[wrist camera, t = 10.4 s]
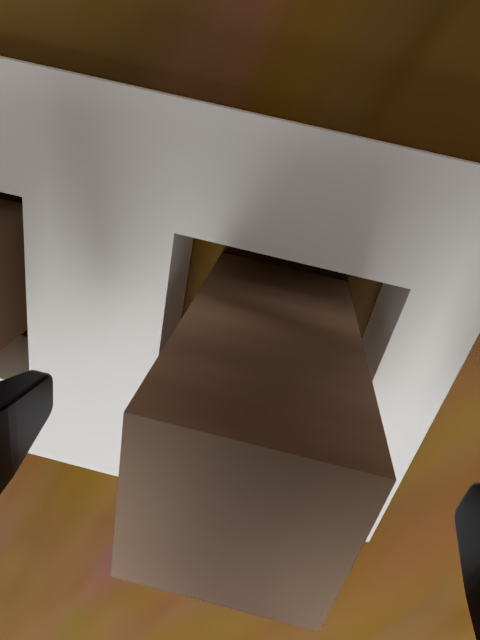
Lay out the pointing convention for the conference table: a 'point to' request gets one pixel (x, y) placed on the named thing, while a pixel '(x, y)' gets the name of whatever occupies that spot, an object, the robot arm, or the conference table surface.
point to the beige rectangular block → (254, 448)
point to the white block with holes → (218, 227)
